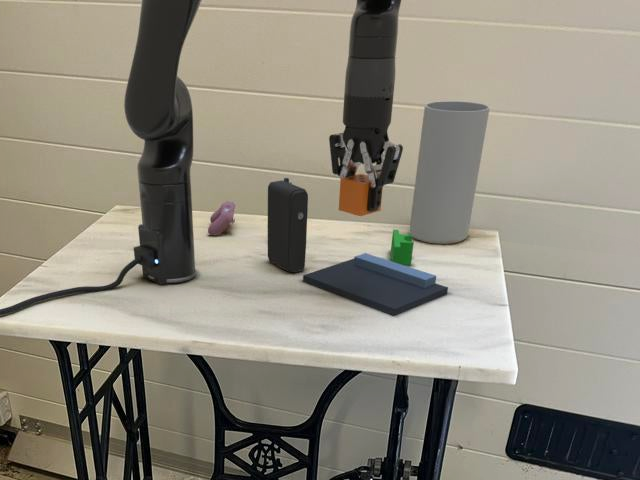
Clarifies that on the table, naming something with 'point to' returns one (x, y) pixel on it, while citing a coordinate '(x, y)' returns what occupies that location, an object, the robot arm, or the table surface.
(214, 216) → the purple rounded lump
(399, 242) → the pipe clamp
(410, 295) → the bed mat
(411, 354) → the table surface
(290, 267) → the dark grey rounded box
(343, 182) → the die
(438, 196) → the cylinder vase
